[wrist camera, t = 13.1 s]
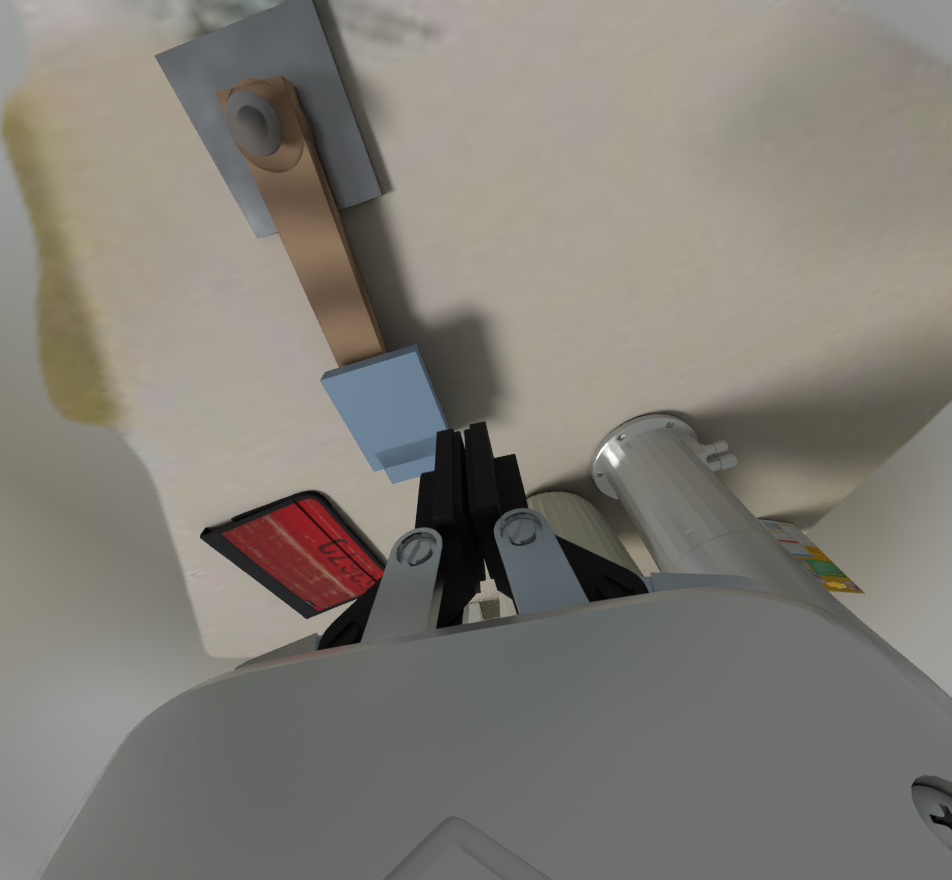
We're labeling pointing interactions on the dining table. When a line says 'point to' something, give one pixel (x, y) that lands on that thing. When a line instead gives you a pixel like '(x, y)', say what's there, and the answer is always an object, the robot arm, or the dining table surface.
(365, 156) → the pintle base
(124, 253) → the dining table surface
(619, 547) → the canister
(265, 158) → the latch bar
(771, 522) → the crayon box
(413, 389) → the block
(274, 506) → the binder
